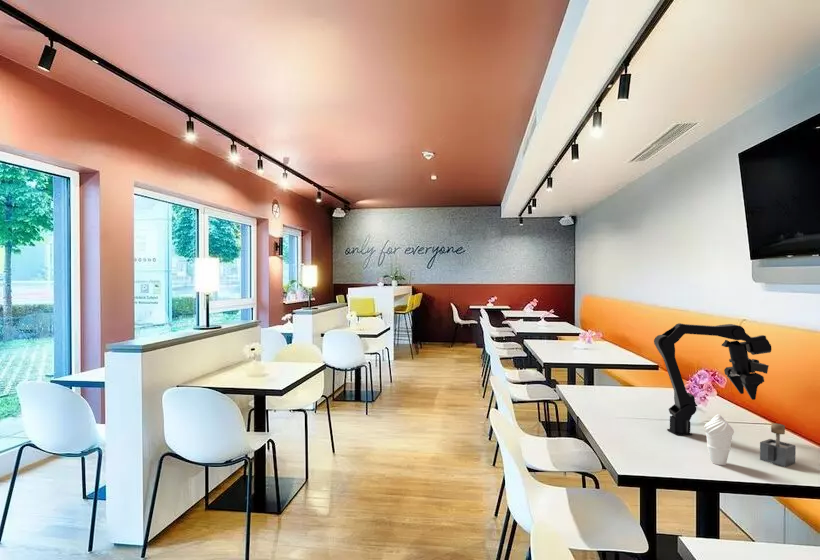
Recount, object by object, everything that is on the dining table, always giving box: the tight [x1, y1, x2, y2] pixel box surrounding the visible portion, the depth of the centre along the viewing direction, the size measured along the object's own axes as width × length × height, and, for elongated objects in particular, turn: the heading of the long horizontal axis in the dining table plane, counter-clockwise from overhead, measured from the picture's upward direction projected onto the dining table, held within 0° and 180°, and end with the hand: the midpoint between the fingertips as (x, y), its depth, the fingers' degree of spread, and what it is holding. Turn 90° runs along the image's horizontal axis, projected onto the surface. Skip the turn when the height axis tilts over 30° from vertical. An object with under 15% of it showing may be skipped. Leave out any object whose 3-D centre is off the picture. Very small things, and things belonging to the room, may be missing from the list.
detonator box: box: [759, 438, 797, 468], centre depth 156 cm, size 7×8×6 cm
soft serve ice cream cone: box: [703, 413, 735, 466], centre depth 154 cm, size 8×8×16 cm
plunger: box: [769, 422, 787, 448], centre depth 156 cm, size 5×5×8 cm
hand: (747, 396), depth 180 cm, fingers open, 9 cm apart
